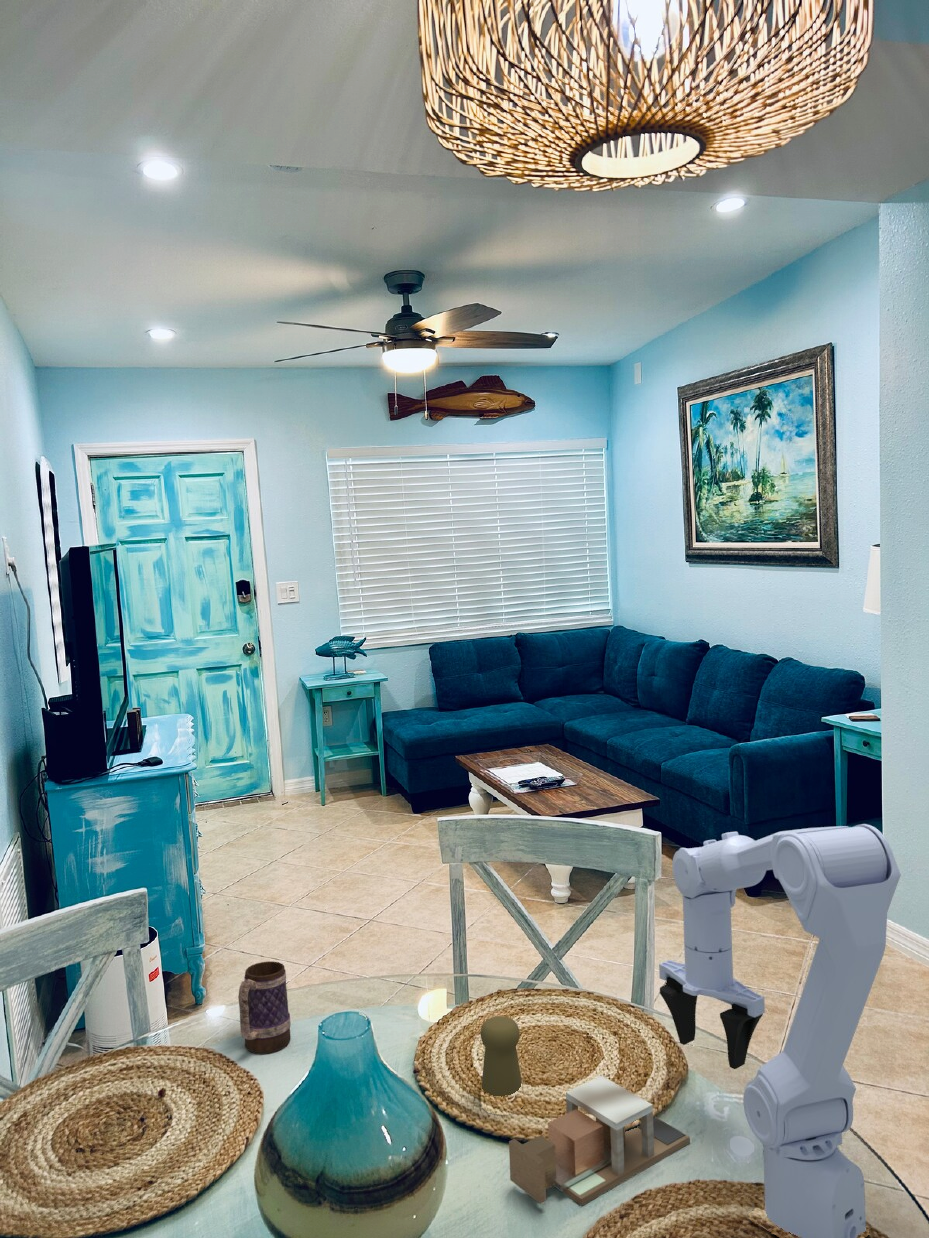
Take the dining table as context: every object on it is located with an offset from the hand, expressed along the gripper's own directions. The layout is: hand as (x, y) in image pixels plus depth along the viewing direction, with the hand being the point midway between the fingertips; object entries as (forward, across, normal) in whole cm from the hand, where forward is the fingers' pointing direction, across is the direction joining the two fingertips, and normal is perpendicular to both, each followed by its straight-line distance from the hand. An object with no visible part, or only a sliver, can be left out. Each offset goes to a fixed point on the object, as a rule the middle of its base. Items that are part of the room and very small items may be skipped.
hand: (711, 1053), depth 110 cm
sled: (+9, -5, -19) cm, 22 cm away
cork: (+10, -22, -16) cm, 29 cm away
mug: (+10, -57, -35) cm, 68 cm away
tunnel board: (+10, -5, -13) cm, 17 cm away
